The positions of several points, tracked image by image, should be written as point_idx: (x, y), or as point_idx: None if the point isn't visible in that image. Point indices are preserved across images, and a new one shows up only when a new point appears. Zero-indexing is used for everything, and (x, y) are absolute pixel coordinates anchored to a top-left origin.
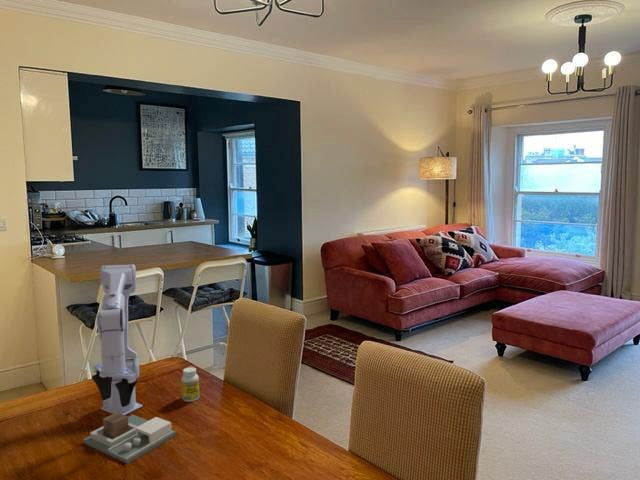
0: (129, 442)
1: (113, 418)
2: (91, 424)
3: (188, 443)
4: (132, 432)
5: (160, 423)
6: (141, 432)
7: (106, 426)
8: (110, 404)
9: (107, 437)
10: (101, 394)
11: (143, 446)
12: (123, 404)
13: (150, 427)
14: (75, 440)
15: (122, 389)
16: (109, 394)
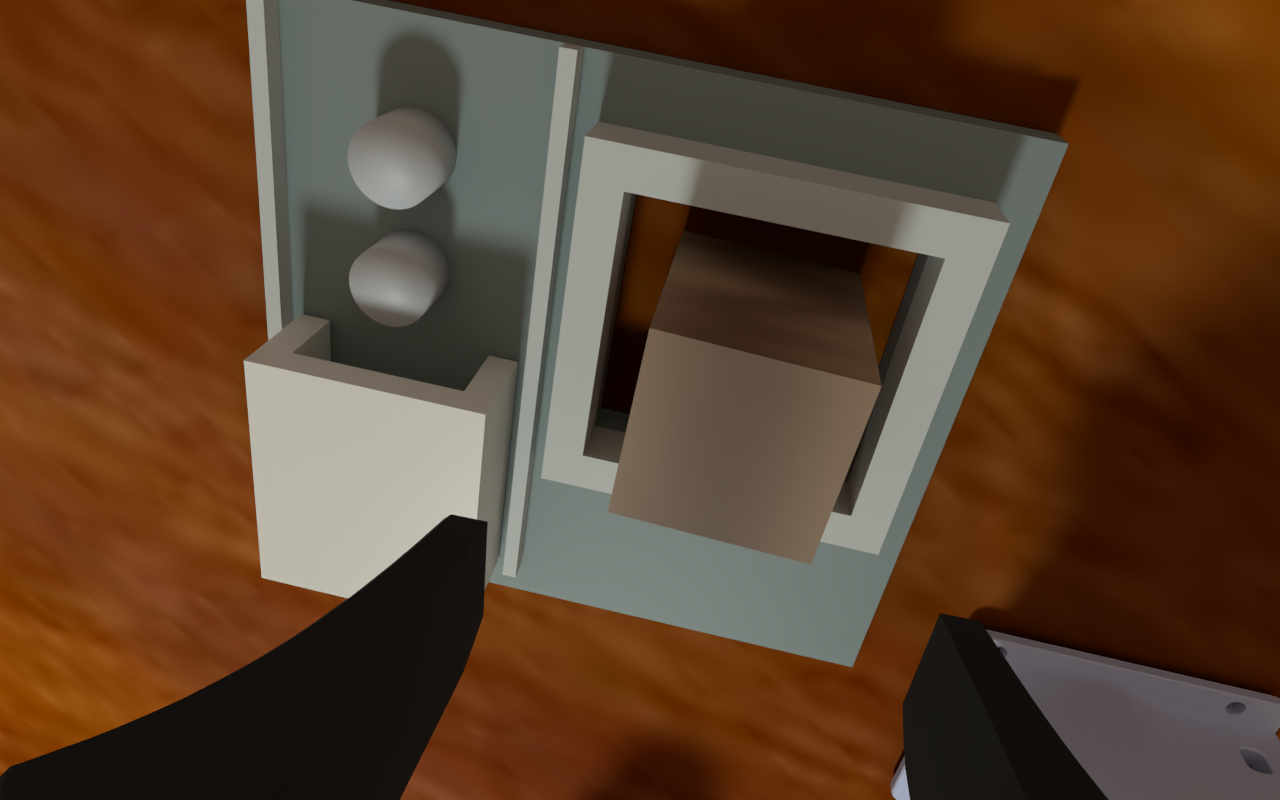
0: (401, 207)
1: (745, 431)
2: (1209, 464)
3: (130, 443)
4: (554, 389)
5: (330, 541)
6: (398, 379)
7: (807, 329)
8: (1169, 744)
9: (714, 209)
10: (1003, 692)
11: (330, 257)
12: (423, 542)
13: (351, 459)
14: (1195, 146)
15: (67, 749)
16: (913, 742)
